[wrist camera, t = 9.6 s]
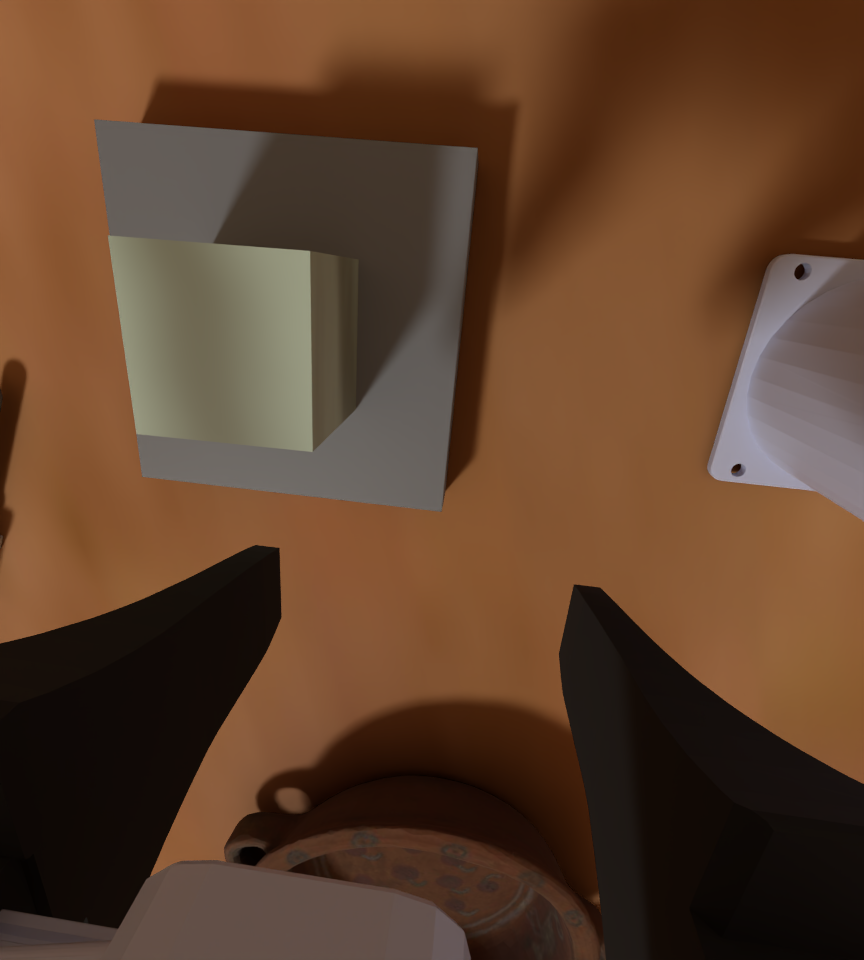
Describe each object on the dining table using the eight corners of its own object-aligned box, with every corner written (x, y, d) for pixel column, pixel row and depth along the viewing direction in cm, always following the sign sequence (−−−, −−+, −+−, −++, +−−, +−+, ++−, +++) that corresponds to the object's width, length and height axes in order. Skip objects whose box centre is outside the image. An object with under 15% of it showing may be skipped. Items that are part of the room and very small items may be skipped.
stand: (478, 162, 17) (477, 148, 15) (445, 491, 22) (441, 511, 20) (134, 136, 18) (94, 119, 16) (170, 460, 22) (142, 476, 20)
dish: (266, 689, 27) (220, 774, 22) (669, 803, 27) (707, 911, 22) (229, 887, 33) (188, 985, 29) (554, 979, 33) (566, 1091, 29)
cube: (358, 259, 17) (310, 251, 12) (355, 409, 19) (312, 452, 14) (210, 248, 17) (107, 235, 12) (222, 396, 19) (136, 433, 14)
